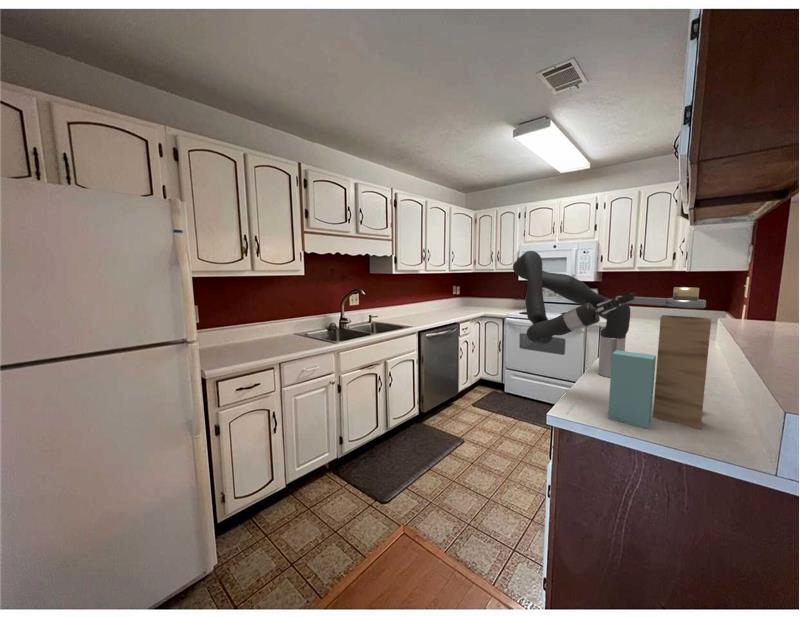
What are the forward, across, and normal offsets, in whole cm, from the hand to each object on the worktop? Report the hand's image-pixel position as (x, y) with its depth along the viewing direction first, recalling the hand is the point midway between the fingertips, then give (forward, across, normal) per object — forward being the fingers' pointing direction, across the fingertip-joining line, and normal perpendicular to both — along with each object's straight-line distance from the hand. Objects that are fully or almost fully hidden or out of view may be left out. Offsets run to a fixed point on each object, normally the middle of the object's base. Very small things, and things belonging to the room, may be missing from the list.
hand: (633, 295), depth 103 cm
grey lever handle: (+4, 0, +5) cm, 7 cm away
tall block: (-16, -10, +34) cm, 39 cm away
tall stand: (-7, 0, +40) cm, 40 cm away
